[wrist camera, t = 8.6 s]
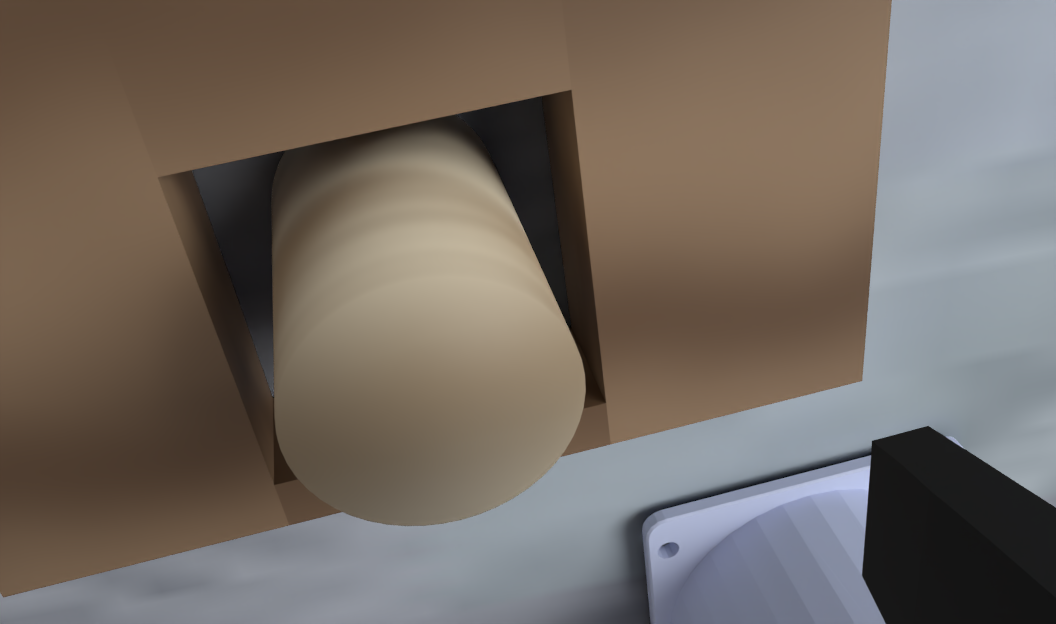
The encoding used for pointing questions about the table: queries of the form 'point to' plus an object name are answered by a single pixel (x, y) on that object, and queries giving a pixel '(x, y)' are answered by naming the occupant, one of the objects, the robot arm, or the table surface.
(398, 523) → the birch peg
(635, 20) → the pocket board
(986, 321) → the table surface
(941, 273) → the table surface
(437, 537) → the table surface
